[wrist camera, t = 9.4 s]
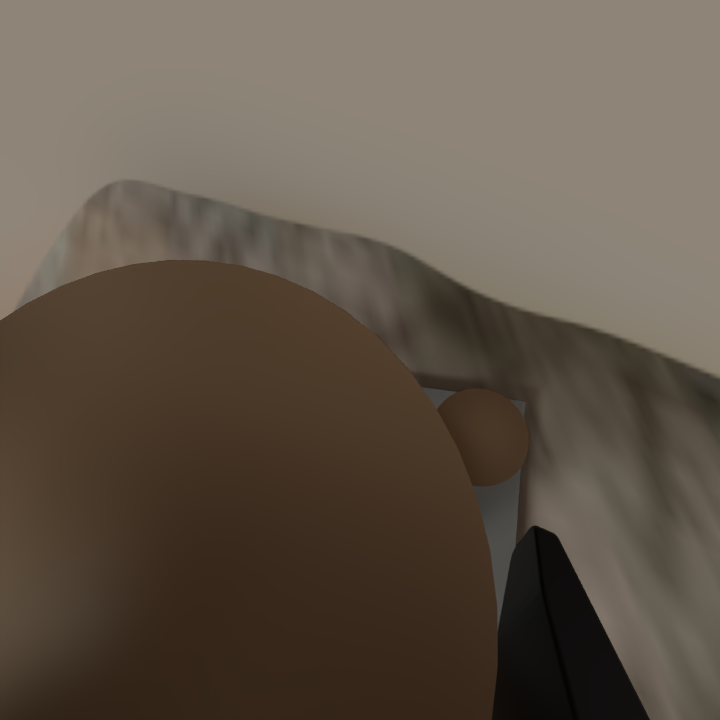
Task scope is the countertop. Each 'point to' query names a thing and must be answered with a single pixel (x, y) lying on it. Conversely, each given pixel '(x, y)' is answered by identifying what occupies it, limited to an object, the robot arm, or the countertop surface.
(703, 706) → the countertop surface
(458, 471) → the stool
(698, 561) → the countertop surface
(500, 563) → the mat
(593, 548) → the countertop surface
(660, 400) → the countertop surface
